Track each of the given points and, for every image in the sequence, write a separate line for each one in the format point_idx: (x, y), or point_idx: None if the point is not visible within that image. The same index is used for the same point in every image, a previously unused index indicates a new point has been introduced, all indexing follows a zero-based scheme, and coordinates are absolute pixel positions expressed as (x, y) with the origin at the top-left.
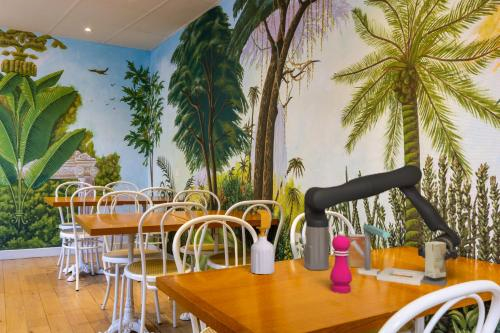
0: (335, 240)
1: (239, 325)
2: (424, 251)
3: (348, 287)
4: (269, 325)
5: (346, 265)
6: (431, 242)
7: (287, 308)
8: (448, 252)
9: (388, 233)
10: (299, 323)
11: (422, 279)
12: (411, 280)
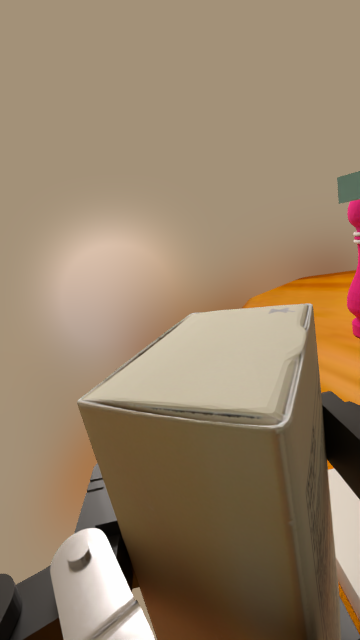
0: None
1: (305, 278)
2: (351, 416)
3: (354, 323)
4: (288, 285)
5: (358, 269)
6: (253, 319)
7: (326, 292)
8: (83, 531)
9: (339, 183)
10: (274, 293)
11: (342, 576)
12: (334, 470)
